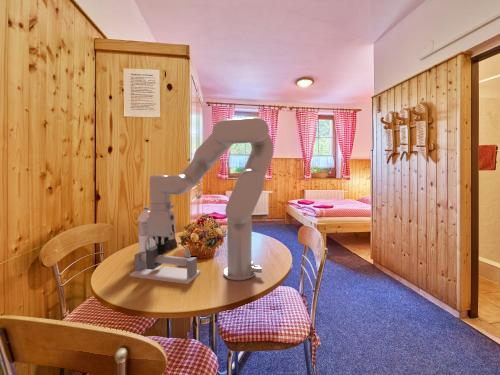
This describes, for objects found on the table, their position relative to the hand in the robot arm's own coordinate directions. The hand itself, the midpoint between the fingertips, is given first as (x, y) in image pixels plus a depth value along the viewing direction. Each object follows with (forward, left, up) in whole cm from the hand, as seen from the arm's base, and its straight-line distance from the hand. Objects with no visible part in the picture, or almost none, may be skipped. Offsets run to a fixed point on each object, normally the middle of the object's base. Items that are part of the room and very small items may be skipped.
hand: (162, 253), depth 98 cm
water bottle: (+13, -8, -9) cm, 17 cm away
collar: (+4, 0, -6) cm, 7 cm away
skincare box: (-1, -22, -9) cm, 24 cm away
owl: (+18, -28, -9) cm, 34 cm away
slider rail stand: (-1, 0, -9) cm, 9 cm away
